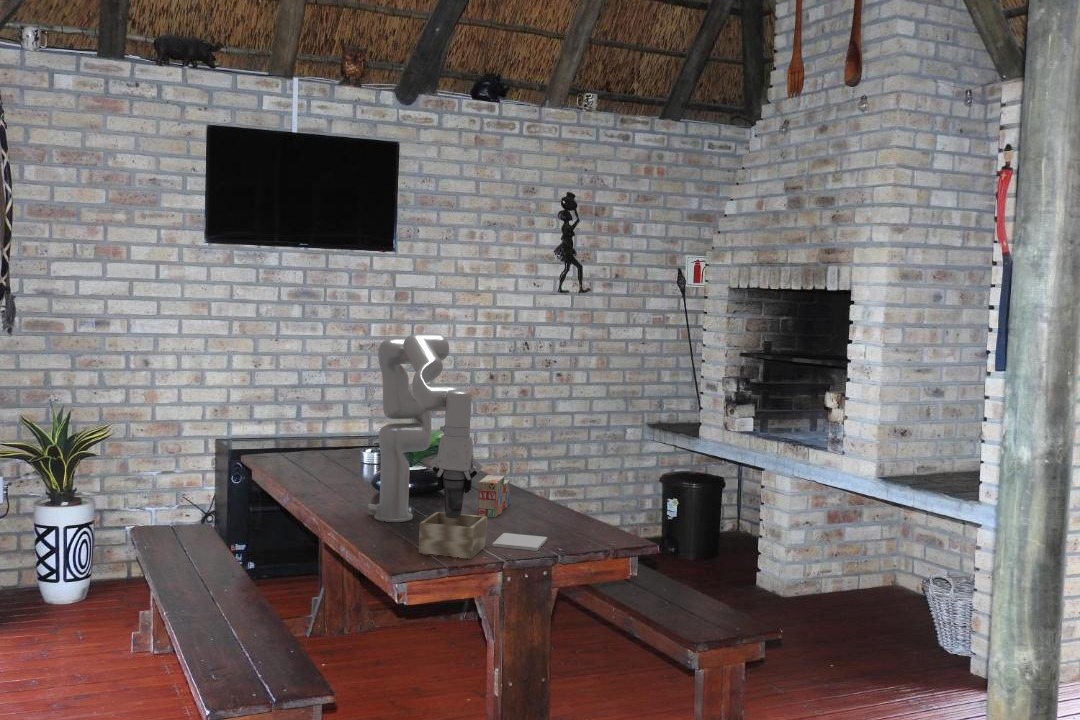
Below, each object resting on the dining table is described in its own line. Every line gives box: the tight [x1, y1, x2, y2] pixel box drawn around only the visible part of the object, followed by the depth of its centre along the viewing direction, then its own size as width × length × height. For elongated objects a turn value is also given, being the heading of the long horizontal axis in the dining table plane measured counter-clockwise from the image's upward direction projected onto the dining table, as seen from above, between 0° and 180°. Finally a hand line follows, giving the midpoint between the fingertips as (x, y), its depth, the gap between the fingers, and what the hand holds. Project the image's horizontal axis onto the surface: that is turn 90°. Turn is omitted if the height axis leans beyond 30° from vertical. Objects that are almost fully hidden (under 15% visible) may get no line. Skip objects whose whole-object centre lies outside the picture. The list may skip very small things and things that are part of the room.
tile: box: [492, 532, 548, 552], centre depth 333 cm, size 14×14×1 cm
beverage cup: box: [443, 470, 466, 518], centre depth 321 cm, size 7×7×20 cm
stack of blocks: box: [477, 474, 511, 518], centre depth 376 cm, size 21×6×12 cm, turn 169°
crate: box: [418, 511, 488, 560], centre depth 321 cm, size 16×16×9 cm
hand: (454, 490), depth 321 cm, fingers closed on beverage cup, 7 cm apart
